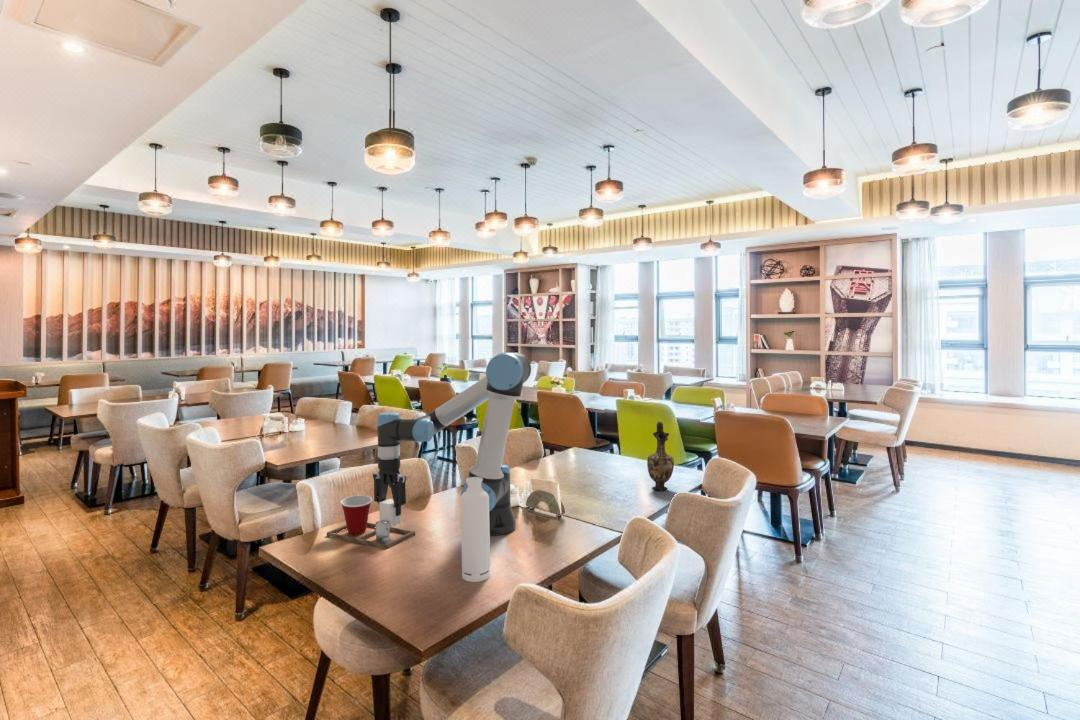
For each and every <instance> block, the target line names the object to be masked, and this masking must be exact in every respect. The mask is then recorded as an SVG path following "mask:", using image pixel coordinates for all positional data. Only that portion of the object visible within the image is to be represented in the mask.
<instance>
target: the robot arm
mask: <svg viewBox="0 0 1080 720" xmlns="http://www.w3.org/2000/svg"><path fill="white" fill-rule="evenodd" d="M531 372H532V366H531V361H530V360H529V359H528V357H527V356H526V355H525V354H522V352H521V353H520V352H517V351H516V352H515V351H514V352H507V351H506V352H501V353H499V354H496V355H495V356H493V357H492V358H491V359H490V360H489V361H488V363H487V366H486V369H485V376H484V377H483V378H481V379H479V380H478V381H477V382H475V383H473V384H472V385H471V386H468V387H467V388H465V390H463V391H461V392H459V393H458V394H457V395H455V396H453V397H452V398H450V399H449V400H447V401H446V402H444V403H443V404H441V405H440V406H438V407H437V408H435V409H433V410H432V411H430V412H429V413H427V414H426V415H423V416H420V417H418V418H401V415H400V413H398V412H391V411H389V412H388V411H387V412H382V413H379V414H378V415H377V421H376V422H377V425H376V430H377V433H376V434H377V458H378V459H377V469H378V470H379V471H378V472H375V473H373V474H372V479H373V498H374V499H373V501H374V503H375V502H377V504H378V505H379V502H382V501H385V500H387V495H388V489H389V488H390V491H391V495H392V499H393V501H394V506H393V527H395V526H398V525H399V524H401V523H400V515H401V514H402V506H403V505H406V503H407V498H406V497H407V496H406V494H407V492H406V490H407V489H406V481H407V476H406V475H404V476H403V475H402V474H401V472H400V468H401V457H400V456H401V442H419V443H422V442H431V440H432V439H433V437H434V435H436V434H438V433H440V432H441V431H443V429H444V428H446V427H448V426H450V424H452V423H454V422H455V421H457V420H459V419H460V418H462V417H463V416H465V415H466V414H468V413H470V412H472V410H474V409H476V408H478V407H479V406H481V405H482V404H484V403H485V402H487V401H488V402H487V405H486V411H485V415H484V421H483V426H482V429H481V435H480V440H479V443H478V444H479V445H478V448H477V454H476V458H475V464H474V465H473V466H471V467H470V468H469V470H468V475H467V478H470V477H481V478H483V481H482V482H481V486H482V488H483V491H485V492H487V494H488V496H489V527H490V536H499V535H501V536H502V535H506V534H509V533H512V532H513V531H514V530H515V529H516V528H517V522H516V519H515V515H514V513H513V509H512V506H511V475H512V474H511V469H510V467H509V465H507V464H503V459H504V455H505V450H506V444H507V440H508V434H509V430H510V427H511V426H510V425H511V420H512V415H513V411H514V406H515V402H516V400H518V399H519V398H521V395H522V390H523V387H524V383H525V382H527V381H528V379H529V378H530V376H531V375H532V374H531ZM467 487H468V485H467V483H465V484H464V486H463V487H462V489H461V492H460V496H461V495H462V494H463V493H464V492H465V491H466V489H467Z"/></svg>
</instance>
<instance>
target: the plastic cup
mask: <svg viewBox="0 0 1080 720" xmlns="http://www.w3.org/2000/svg"><path fill="white" fill-rule="evenodd" d="M372 502H373V498H372V497H371V496H368V495H350V496H347V497H345V498H343V499H341V500H340V505H341V506H342V510H343V514H344V520H345V525H347V529H346V530H347V531H348V535H350V534H352V535H351V536H359V535H358V534H360V535H362V534H363V535H364V534H365V533H366V531H367V527H368V526H367V522H368V520H369V513H370V507H371V503H372ZM364 532H365V533H364Z"/></svg>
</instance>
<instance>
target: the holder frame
mask: <svg viewBox="0 0 1080 720" xmlns="http://www.w3.org/2000/svg"><path fill="white" fill-rule="evenodd" d="M367 525H368V526H367V527H369V526H373V527H372V528H374V527H376V523H372V522H368V521H367ZM346 528H347V525H346V524H345V525H342V526H340V527H337V528H335V529H333V530H332V529H331V530H330V531H327V532H326V537H329V536H332V537H331V538H334V537H336V538H335V539H338V538H340V539H339V540H343V539H344V541H349V542H354V543H358V544H363V545H366V546H367V545H368V546H371V547H376V548H382V549H387V550H388V549H390V548H392V547H394V546H395V545H398V544H400V543H402V542H403V541H406V540H408V539H410V538H412V537H413V536H415V535H416V531H414V530H409V529H404V528H400V527H395V526H393V527H390V530H391V531H390V532H394V531H395V532H396V533H400V534H404V535H401V536H399V537H398V538H396V539H394V540H390V542H389V543H387V544H382V543H377V542H376V541H371V540H368V539H369V538H371V537H373V536H376V529H375V530H373V531H370V532H367V533H366V534H365V533H364V534H363V535H360V536H359V537H352V536H349V535H348V536H347V535H343V534H338V533H340V532H339V531H341V530H343V529H346ZM346 530H347V529H346ZM343 531H344V530H343ZM336 532H338V533H336ZM341 532H342V531H341ZM334 533H336V534H334Z"/></svg>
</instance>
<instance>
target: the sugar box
mask: <svg viewBox="0 0 1080 720" xmlns="http://www.w3.org/2000/svg"><path fill="white" fill-rule="evenodd" d="M393 506H394V501H393V498H386V500H385V501H382V502H379V504H378V512H379V513H378V515H379V521H381V520H388V521H389V525H390V527H394V526H393ZM401 519H402V518H401V515H400V524H401Z"/></svg>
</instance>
